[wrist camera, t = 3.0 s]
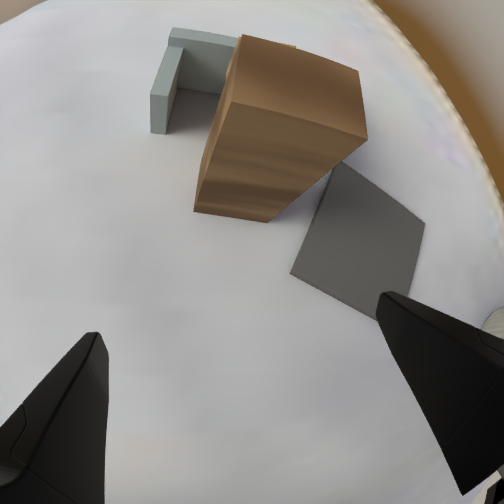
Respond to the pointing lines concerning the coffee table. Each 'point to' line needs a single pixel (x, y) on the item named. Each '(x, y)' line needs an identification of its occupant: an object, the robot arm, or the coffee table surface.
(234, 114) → the brown wooden block
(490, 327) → the ramekin
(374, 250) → the charcoal mat
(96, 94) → the coffee table surface
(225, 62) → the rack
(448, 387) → the robot arm
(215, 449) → the coffee table surface
